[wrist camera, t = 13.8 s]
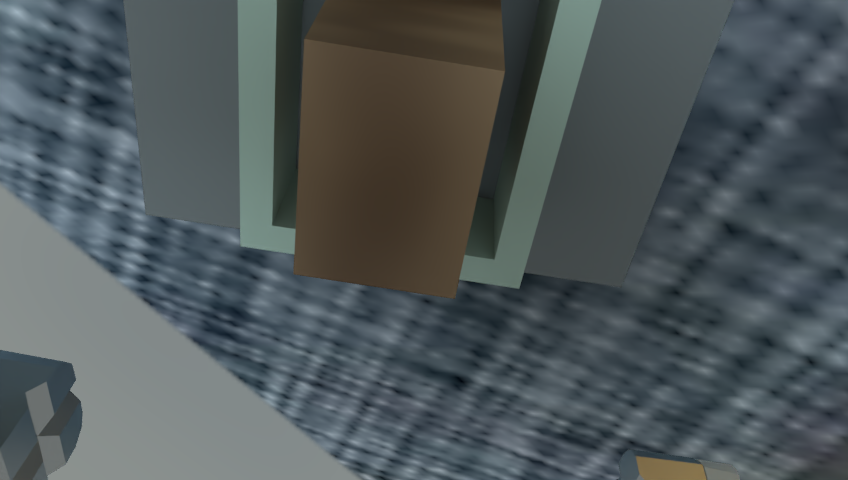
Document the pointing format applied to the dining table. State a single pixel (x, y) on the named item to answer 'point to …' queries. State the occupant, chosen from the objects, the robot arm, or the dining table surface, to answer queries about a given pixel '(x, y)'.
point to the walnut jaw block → (395, 139)
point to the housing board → (509, 143)
